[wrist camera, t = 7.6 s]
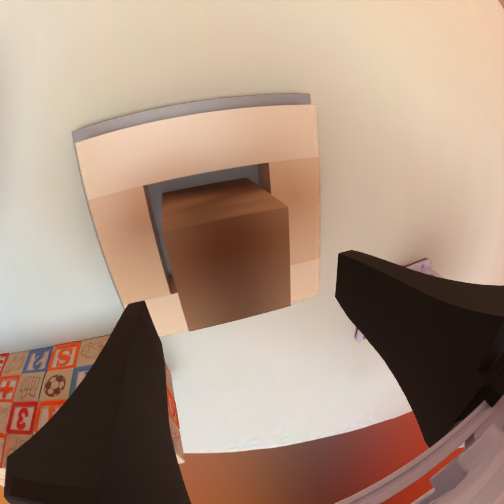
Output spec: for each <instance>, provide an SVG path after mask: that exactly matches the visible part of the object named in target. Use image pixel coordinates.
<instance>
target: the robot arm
mask: <svg viewBox="0 0 504 504" xmlns="http://www.w3.org/2000/svg"><path fill="white" fill-rule="evenodd" d="M430 264H431V261H430V260H429V259H426V260H423V261H420V262H418V263H415V264H413V265H410V266H407V267H403V266H400V265H397V264H394V263H391V262H388V261H386V260H383V259H380V258H377V257H374V256H371V255H368V254H365V253H361V252H358V251H354V250H350V251H346V252H342V253H338V267H337V281H336V292H335V297H336V299H337V301H338V302H339V304H340V306H341V307H342V309H343V310H344V312H345V313H346V315H347V316H348V318H349V319H350V320H351V321H352V322H353V324H354V325H355V326H356V327H357V328H358V329H357V335H356V340H357V341H358V342H361V341H363V340H365V339H367V340H368V341H369V342H370V344H371V345H372V346H373V347H374V348H375V350H376V351H377V352H378V353H379V354H380V356H381V357H382V358H383V360H384V361H385V362H386V364H387V366H388V367H389V369H390V370H391V372H392V373H393V375H394V377H395V378H396V380H397V382H398V383H399V385H400V387H401V389H402V391H403V392H404V394H405V396H406V398H407V400H408V402H409V404H410V406H411V408H412V410H413V412H414V414H415V417H416V419H417V422H418V424H419V427H420V429H421V432H422V434H423V437H424V440H425V442H426V444H427V445H428V446H429V447H430V448H429V449H428V450H426V451H425V452H424V453H422V454H421V455H420V456H418V457H417V458H415V459H414V460H413V461H411V462H409V463H408V464H406V465H405V466H403V467H402V468H400V469H399V470H397V471H395V472H394V473H392V474H391V475H389V476H387V477H386V478H384V479H382V480H380V481H379V482H377V483H375V484H373V485H372V486H370V487H368V488H366V489H364V490H362V491H360V492H358V493H356V494H354V495H352V496H350V497H348V498H346V499H344V500H342V501H340V502H337V503H335V504H380V503H382V502H383V501H385V500H387V499H388V498H390V497H392V496H393V495H395V494H397V493H398V492H400V491H401V490H403V489H404V488H406V487H407V486H409V485H410V484H412V483H413V482H415V481H416V480H417V479H419V478H420V477H422V476H423V475H425V474H426V473H427V472H429V471H430V470H431V469H433V468H434V467H435V466H436V465H438V464H439V463H440V462H441V461H443V460H444V459H445V458H446V457H447V456H449V455H450V454H451V453H452V452H453V451H454V450H456V449H457V448H460V447H465V448H464V451H463V452H462V453H461V454H459V455H458V456H457V457H456V458H455V459H453V460H452V461H451V462H450V463H448V464H447V465H446V466H445V467H443V468H442V469H441V470H440V471H439V472H437V473H436V474H435V475H434V476H433V477H431V478H430V482H431V483H432V485H433V486H434V488H433V489H431V490H430V491H428V492H427V493H426V494H424V495H423V496H421V497H420V498H419V499H417V500H416V501H414V502H413V503H411V504H504V286H495V285H480V284H472V283H465V282H458V281H453V280H448V279H445V278H443V277H442V276H440V275H439V274H438V273H436V272H435V271H433V270H432V269H431V268H430ZM4 497H5V499H6V500H7V501H8V502H9V503H10V504H191V502H190V500H189V496H188V493H187V491H186V487H185V484H184V481H183V479H182V475H181V471H180V468H179V465H178V461H177V457H176V453H175V449H174V445H173V440H172V436H171V431H170V424H169V414H168V401H167V385H166V368H165V361H164V355H163V349H162V343H161V341H160V338H159V336H158V333H157V331H156V328H155V326H154V323H153V321H152V318H151V316H150V313H149V310H148V308H147V305H146V302H145V300H143V301H139V302H134V303H130V304H128V305H127V307H126V308H125V310H124V312H123V314H122V315H121V317H120V319H119V321H118V323H117V324H116V326H115V328H114V330H113V332H112V333H111V335H110V337H109V339H108V340H107V342H106V344H105V346H104V347H103V349H102V351H101V352H100V354H99V355H98V357H97V359H96V360H95V362H94V364H93V365H92V367H91V368H90V370H89V371H88V373H87V374H86V376H85V377H84V378H83V380H82V381H81V383H80V384H79V385H78V387H77V388H76V389H75V391H74V392H73V393H72V394H71V396H70V397H69V398H68V399H67V400H66V401H65V403H64V404H63V405H62V406H61V407H60V408H59V410H58V411H57V412H56V413H55V414H54V415H53V416H52V417H51V418H50V419H49V421H48V422H47V423H46V424H45V425H44V426H43V427H42V428H41V429H39V430H38V431H37V432H36V433H35V434H34V435H33V436H32V437H31V438H30V439H29V440H27V441H26V442H25V443H24V444H23V445H21V446H20V447H19V448H18V449H16V450H15V451H14V452H13V453H12V454H10V455H9V456H7V463H6V472H5V485H4Z"/></svg>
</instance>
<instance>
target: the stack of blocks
mask: <svg viewBox="0 0 504 504" xmlns="http://www.w3.org/2000/svg"><path fill="white" fill-rule="evenodd" d="M109 337H110V335H107V336H102V337H97V338H92V339H87V340H84V341H82V342H81V341H78V342H72V343H66V344H60V345H55V346H54V347H47V348H41V349H36V350H31V351H24V352H18V353H11V354H9V353H7V354H0V486H3V487H4V485H5V472H6V463H7V456H9V455H10V454H12V453H13V452H14V451H15V450H16V449H18V448H19V447H20V446H21V445H23V444H24V443H25V442H26V441H27V440H29V439H30V438H31V437H32V436H33V435H34V434H35V433H36V432H37V431H38V430H39V429H41V428H42V427H43V426H44V425H45V424H46V423H47V422H48V421H49V419H50V418H51V417H52V416H53V415H54V414H55V413H56V412H57V411H58V410H59V408H60V407H61V406H62V405H63V404H64V403H65V401H66V400H67V399H68V398H69V397H70V396H71V394H72V393H73V392H74V391H75V389H76V388H77V387H78V385H79V384H80V383H81V381H82V380H83V378H84V377H85V376H86V374H87V373H88V371H89V370H90V368H91V367H92V365H93V364H94V362H95V360H96V359H97V357H98V355H99V354H100V352H101V351H102V349H103V347H104V346H105V344H106V342H107V340H108V339H109ZM165 368H166V385H167V401H168V414H169V424H170V431H171V436H172V440H173V445H174V449H175V453H176V457H177V461H178V464H179V463H184V462H185V458H184V453H183V447H182V442H181V436H180V431H179V429H180V428H179V421H178V415H177V409H176V403H175V400H174V399H175V398H174V392H173V385H172V378H171V374H170V372H169V370H168V368H167V366H166V364H165Z"/></svg>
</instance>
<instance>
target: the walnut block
mask: <svg viewBox="0 0 504 504" xmlns="http://www.w3.org/2000/svg"><path fill="white" fill-rule="evenodd" d="M162 233H163V237H164V242H165V246H166V250H167V254H168V258H169V262H170V266H171V270H172V274H173V278H174V281H175V285H176V289H177V292H178V296H179V300H180V303H181V307H182V310H183V313H184V317H185V320H186V323H187V327H188V330H189V331H194V330H198V329H202V328H207V327H211V326H215V325H219V324H223V323H227V322H231V321H235V320H239V319H243V318H247V317H251V316H255V315H259V314H262V313H266V312H270V311H273V310H277V309H281V308H284V307H288V306H291V284H290V240H289V211H288V206H286V205H285V204H284V203H282V202H281V201H279V200H278V199H277V198H275V197H274V196H272V195H271V194H270V193H268V192H267V191H265V190H264V189H263V188H261V187H260V186H258V185H257V184H256V183H254V182H253V181H251V180H250V179H248V178H241V179H235V180H229V181H223V182H217V183H211V184H206V185H200V186H195V187H190V188H185V189H180V190H175V191H170V192H165V193H162Z"/></svg>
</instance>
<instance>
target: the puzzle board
mask: <svg viewBox="0 0 504 504" xmlns="http://www.w3.org/2000/svg"><path fill="white" fill-rule="evenodd" d="M72 136H73V142H74V148H75V153H76V158H77V163H78V167H79V172H80V176H81V181H82V185H83V189H84V193H85V197H86V201H87V205H88V208H89V212H90V215H91V219H92V222H93V226H94V229H95V232H96V235H97V238H98V242H99V245H100V248H101V251H102V254H103V257H104V259H105V262H106V265H107V268H108V271H109V273H110V276H111V279H112V281H113V284H114V286H115V289H116V291H117V294H118V296H119V299H120V301H121V304H122V306H123V308H124V310H125V308H126V307H127V305H128V304H130V303H134V302H139V301H143V300H145V302H146V305H147V308H148V310H149V313H150V316H151V318H152V321H153V323H154V326H155V328H156V331H157V333H158V336H159V337H161V336H166V335H170V334H175V333H179V332H184V331H188V327H187V323H186V320H185V317H184V313H183V310H182V307H181V303H180V300H179V296H178V292H177V289H176V285H175V281H174V278H173V274H172V270H171V266H170V262H169V258H168V254H167V250H166V246H165V242H164V237H163V233H162V193H165V192H170V191H175V190H180V189H185V188H190V187H195V186H200V185H206V184H211V183H217V182H223V181H229V180H235V179H241V178H248V179H250V180H251V181H253V182H254V183H256V184H257V185H258V186H260V187H261V188H263V189H264V190H265V191H267V192H268V193H270V194H271V195H272V196H274V197H275V198H277V199H278V200H279V201H281V202H282V203H284V204H285V205H286V206H288V211H289V240H290V284H291V303H295V302H298V301H302V300H305V299H308V298H312V297H315V296H318V290H319V262H320V174H319V146H318V127H317V111H316V105H311V103H310V94H268V95H252V96H239V97H229V98H219V99H211V100H204V101H197V102H190V103H184V104H178V105H172V106H167V107H162V108H157V109H152V110H147V111H143V112H138V113H134V114H130V115H126V116H122V117H118V118H114V119H111V120H107V121H104V122H100V123H97V124H94V125H90V126H87V127H84V128H81V129H78V130H75V131H72Z"/></svg>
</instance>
